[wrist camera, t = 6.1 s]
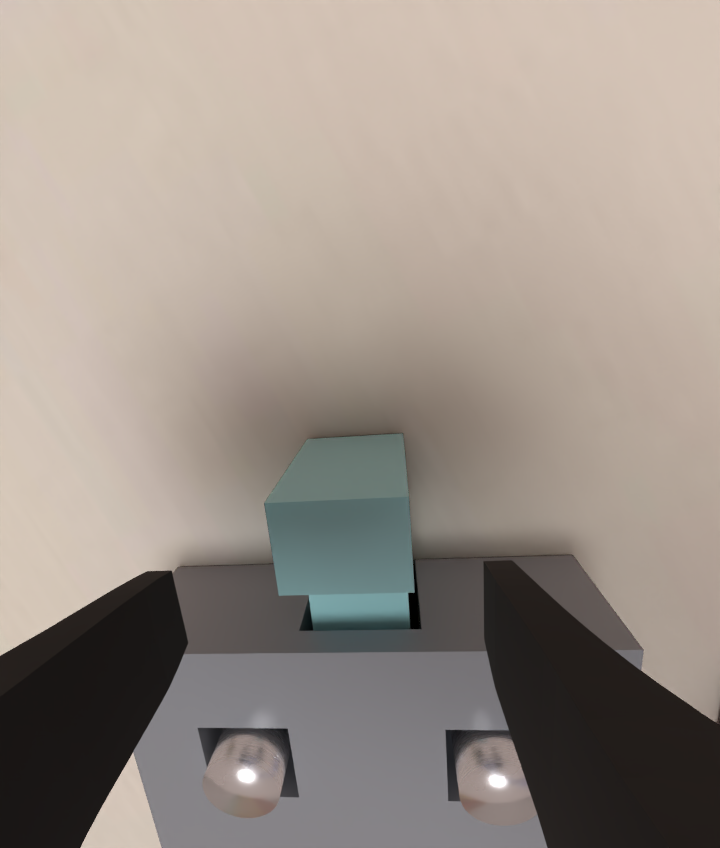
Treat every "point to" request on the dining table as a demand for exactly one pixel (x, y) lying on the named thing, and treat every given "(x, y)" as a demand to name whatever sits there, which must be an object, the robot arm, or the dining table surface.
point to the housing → (343, 709)
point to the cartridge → (345, 532)
